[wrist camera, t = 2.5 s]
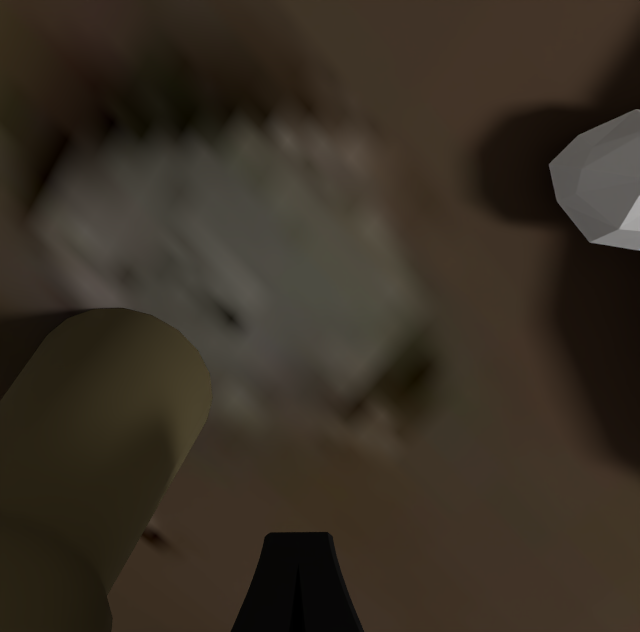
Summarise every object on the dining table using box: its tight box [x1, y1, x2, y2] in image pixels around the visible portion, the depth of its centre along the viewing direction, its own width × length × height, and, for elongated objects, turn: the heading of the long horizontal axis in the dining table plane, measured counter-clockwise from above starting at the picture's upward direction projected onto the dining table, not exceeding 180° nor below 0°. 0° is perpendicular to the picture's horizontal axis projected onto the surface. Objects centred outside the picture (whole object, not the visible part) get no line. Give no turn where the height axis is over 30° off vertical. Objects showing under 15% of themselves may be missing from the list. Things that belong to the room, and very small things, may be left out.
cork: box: [0, 308, 213, 632], centre depth 13 cm, size 6×6×11 cm
